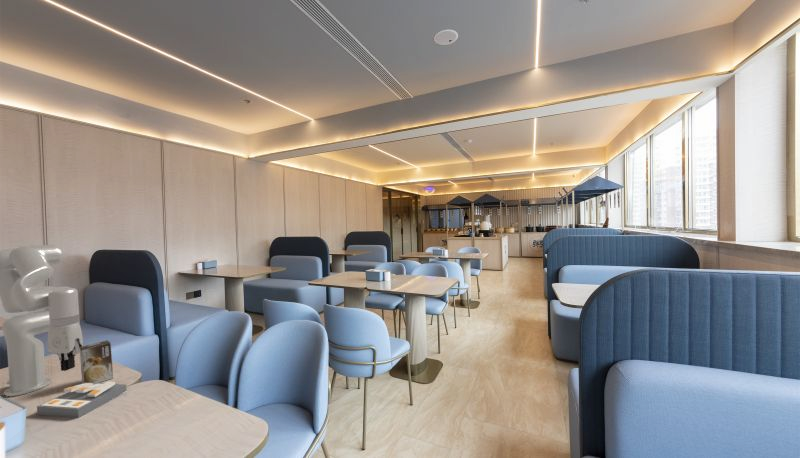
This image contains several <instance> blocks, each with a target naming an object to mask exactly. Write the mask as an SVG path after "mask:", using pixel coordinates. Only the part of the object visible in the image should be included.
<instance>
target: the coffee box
mask: <svg viewBox="0 0 800 458" xmlns="http://www.w3.org/2000/svg"><path fill="white" fill-rule="evenodd" d="M79 357H80V370H81V384H84V383H104V382H107V381H109V380H112V379H113V378H114V371H113V368H114V367H113V355H112V345H111V341H110V340H103V341H99V342H96V343H91V344H86V345H83V347H82V348H81V349H80V353H79Z"/></svg>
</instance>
